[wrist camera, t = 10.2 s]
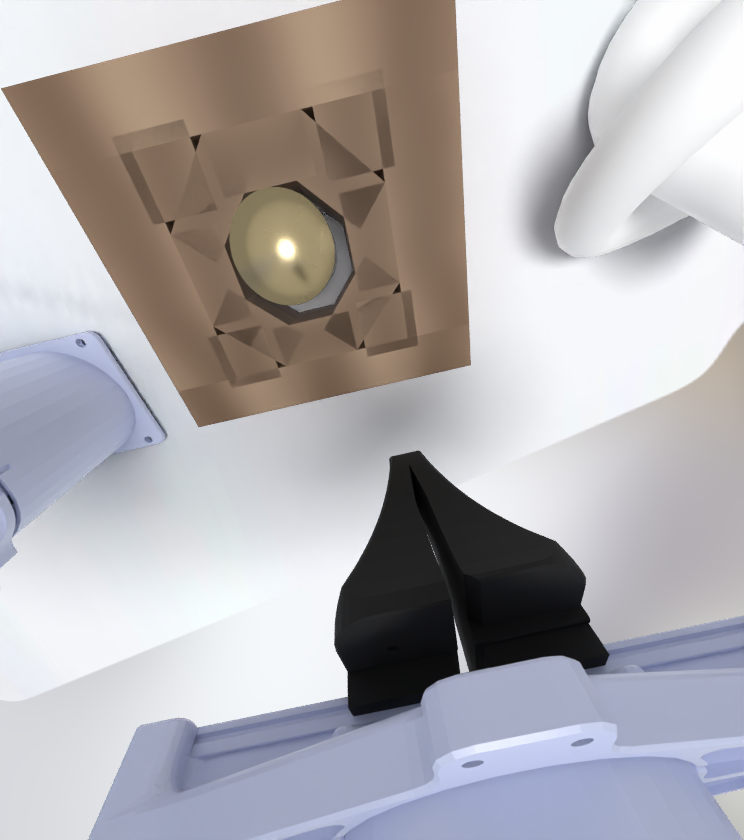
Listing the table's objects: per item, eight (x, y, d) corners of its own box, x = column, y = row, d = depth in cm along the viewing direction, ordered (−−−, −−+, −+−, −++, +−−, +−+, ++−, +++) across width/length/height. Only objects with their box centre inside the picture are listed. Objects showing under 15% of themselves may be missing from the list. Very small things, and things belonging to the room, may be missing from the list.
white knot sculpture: (542, 317, 20) (673, 355, 12) (483, 97, 14) (653, -97, 7) (721, 216, 18) (1020, 182, 10) (732, -83, 12) (1409, -677, 5)
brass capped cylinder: (280, 298, 18) (255, 315, 13) (253, 221, 16) (209, 202, 11) (344, 282, 18) (345, 292, 12) (325, 202, 16) (317, 174, 10)
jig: (223, 398, 20) (198, 427, 17) (88, 132, 14) (0, 88, 10) (448, 346, 20) (470, 365, 17) (424, 46, 13) (453, -29, 10)
